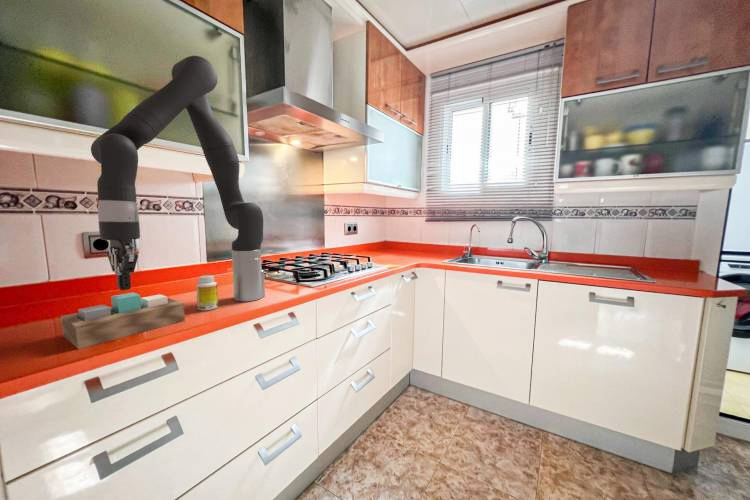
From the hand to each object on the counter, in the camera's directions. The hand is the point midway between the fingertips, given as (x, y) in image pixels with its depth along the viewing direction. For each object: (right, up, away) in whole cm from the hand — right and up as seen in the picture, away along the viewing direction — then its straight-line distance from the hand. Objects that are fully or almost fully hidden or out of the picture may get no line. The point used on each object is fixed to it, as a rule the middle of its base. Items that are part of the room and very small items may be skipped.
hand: (124, 289), depth 74 cm
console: (0, -10, +1) cm, 10 cm away
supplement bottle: (+11, -9, +18) cm, 23 cm away
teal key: (0, -6, +1) cm, 6 cm away
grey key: (-3, -8, -4) cm, 9 cm away
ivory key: (+3, -7, +6) cm, 10 cm away
